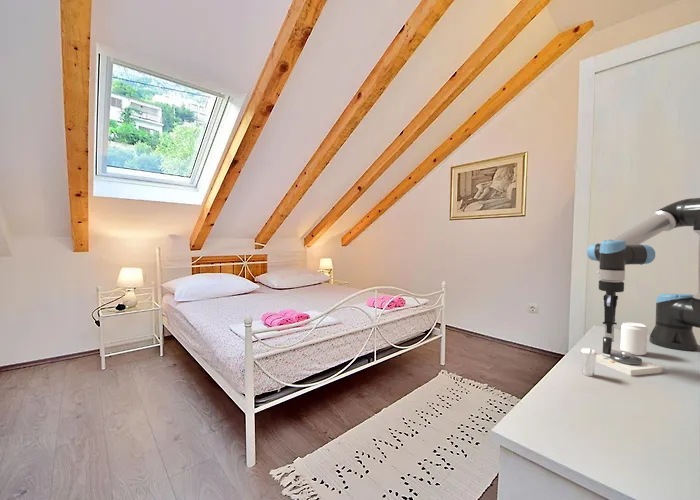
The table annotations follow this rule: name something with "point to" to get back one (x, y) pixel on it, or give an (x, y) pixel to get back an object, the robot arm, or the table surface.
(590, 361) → the milkshake
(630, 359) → the dial
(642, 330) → the beverage can
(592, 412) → the table surface
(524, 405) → the table surface
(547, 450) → the table surface
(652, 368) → the dial board
